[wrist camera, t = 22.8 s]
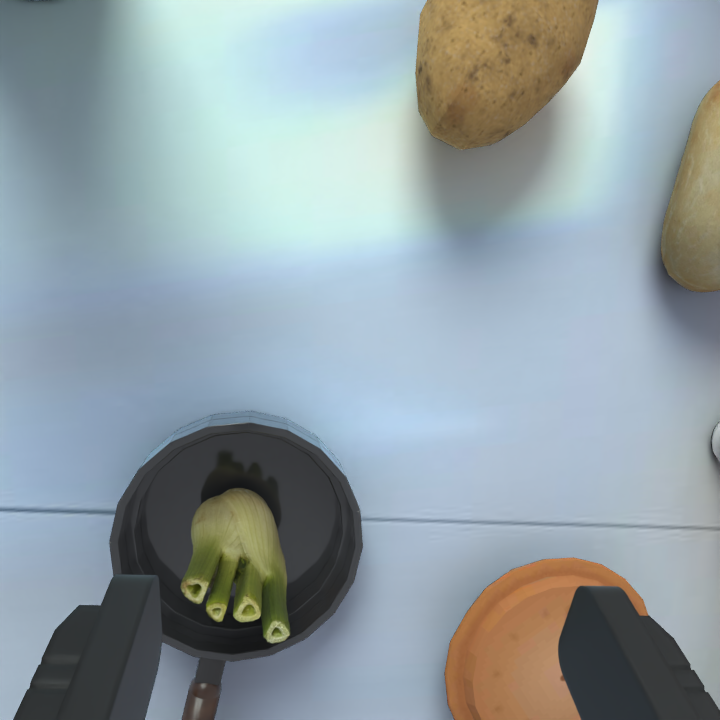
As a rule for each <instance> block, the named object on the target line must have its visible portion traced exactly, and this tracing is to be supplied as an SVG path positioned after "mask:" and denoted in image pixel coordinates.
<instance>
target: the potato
mask: <svg viewBox="0 0 720 720" xmlns="http://www.w3.org/2000/svg"><path fill="white" fill-rule="evenodd" d="M597 5H598V0H427V2H426V4H425V6H424V8H423V10H422V12H421V14H420V23H419V34H418V46H417V59H416V72H415V74H416V86H417V97H418V109H419V113H420V115H421V117H422V118H423V120H424V122H425V124H426V126H427V128H428V129H429V131H430V133H431V135H432V136H433V137H435V138H437V139H439V140H441V141H443V142H445V143H447V144H449V145H451V146H453V147H455V148H457V149H462V150H464V149H470V148H476V147H482V146H488V145H492V144H494V143H496V142H498V141H500V140H502V139H503V138H505V137H506V136H508V135H509V134H511V133H512V132H514V131H515V130H517V129H518V128H520V127H522V126H523V125H525V124H526V123H527V122H528V121H529V120H530V119H531V118H532V117H533V116H534V115H535V114H536V113H537V112H538V111H539V110H541V109H542V108H543V107H544V106H545V105H546V104H547V103H548V102H549V101H550V100H551V99H552V98H553V97H554V96H555V94H556V93H557V92H558V91H559V90H560V89H561V88H562V87H563V86H564V85H565V83H566V82H567V81H568V79H569V78H570V77H571V75H572V74H573V72H574V71H575V70H576V68H577V67H578V66H579V64H580V62H581V59H582V56H583V53H584V50H585V47H586V44H587V40H588V37H589V34H590V31H591V28H592V25H593V22H594V18H595V13H596V9H597Z"/></svg>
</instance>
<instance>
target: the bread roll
mask: <svg viewBox="0 0 720 720" xmlns="http://www.w3.org/2000/svg"><path fill="white" fill-rule="evenodd" d="M661 255H662V260H663V263H664V266H665V268H666V269H667V272H668V274H669V275H670V276H671V277H672V278H673V279H674V280H675V281H676V282H677V283H678V284H680V285H681V286H682V287H684V288H686V289H688V290H690V291H696V292H712V291H718V290H720V80H719V81H718V82H717V83H716V84H715V85H714V86H713V87H712V88H711V89H710V90H709V91H708V93H707V94H706V95H705V97H704V98H703V99H702V101H701V103H700V105H699V107H698V110H697V112H696V114H695V117H694V119H693V122H692V126H691V130H690V134H689V137H688V141H687V144H686V148H685V152H684V155H683V157H682V160H681V165H680V167H679V171H678V174H677V178H676V181H675V185H674V189H673V192H672V195H671V198H670V202H669V205H668V208H667V211H666V214H665V219H664V223H663V230H662V238H661Z"/></svg>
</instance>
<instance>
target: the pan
mask: <svg viewBox="0 0 720 720" xmlns="http://www.w3.org/2000/svg"><path fill="white" fill-rule="evenodd" d="M234 488H244V489H248V490H251V491H253V492H255V493H257V494H258V495H259V496H261V497H262V498H263V499H264V500H265V502H266V503H267V505H268V507H269V509H270V510H271V512H272V514H273V517H274V520H275V523H276V527H277V530H278V536H279V541H280V545H281V549H282V553H283V555H284V559H285V566H286V573H287V587H286V588H287V589H286V606H287V613H288V621H289V625H290V636H289V637H288V638H287V639H286V640H285V641H282V642H280V643H273V644H272V643H269V642H267V640H266V639H265V638H264V637H263V628H262V619H261V616H260V617H259V619H257V620H254V621H249V622H240V621H238V620H236V619H235V618H234V617H233V608H234V598H235V591H236V584H235V583H234V582H233V587H232V590H231V595H230V599H229V602H228V605H227V609H226V612H225V614H224V617H223V620H222V621H221V622H216V621H215V620H213V619H212V618H210V617H209V616H208V614H207V612H206V602H207V600H208V597H209V595H210V589H209V588H208V589H207V592H206V594H205V596H204V599H203V601H202V603H200V604H196V603H193V602H192V601H190V600H189V599H188V598H187V597H185V596H184V594H183V592H182V590H181V588H180V586H181V582H182V579H183V577H184V576H185V574H186V572H187V570H188V567H189V564H190V562H191V559H192V555H193V544H192V539H191V527H192V521H193V517H194V515H195V512H196V510H197V509H198V508H199V507H200V505H201V504H202V503H203V502H205V501H206V500H208V499H210V498H212V497H215V496H219V495H221V494H223V493H224V492H226V491H227V490H229V489H234ZM109 544H110V552H111V560H112V568H113V576H114V575H157V576H158V578H159V587H160V604H161V622H162V642H163V643H166V644H168V645H170V646H172V647H174V648H176V649H178V650H181V651H183V652H185V653H187V654H189V655H191V656H194V657H201V658H208V659H216V660H223V661H231V662H232V661H233V662H234V661H240V660H246V659H252V658H259V657H265V656H270V655H273V654H275V653H277V652H279V651H281V650H284V649H286V648H288V647H290V646H292V645H294V644H296V643H298V642H300V641H303V640H305V638H307V637H308V636H310V635H311V634H312V633H313V632H314V631H315V630H316V629H318V628H319V627H320V626H321V625H322V624H323V623H324V622H325V621H327V620H328V619H329V618H330V617H331V616H332V615H333V614H334V613H335V612H336V610H337V608H338V607H339V605H340V603H341V602H342V600H343V599H344V597H345V595H346V594H347V592H348V590H349V589H350V587H351V586H352V584H353V582H354V579H355V575H356V571H357V567H358V563H359V559H360V556H361V552H362V548H363V547H362V546H363V542H362V528H361V514H360V508H359V506H358V504H357V501H356V499H355V497H354V494H353V492H352V489H351V487H350V485H349V482H348V480H347V478H346V475H345V473H344V471H343V469H342V467H341V464H340V462H339V461H338V459H337V458H336V457H335V456H334V455H333V454H332V453H331V452H330V450H329V449H328V448H327V447H326V446H325V445H324V444H323V443H322V442H321V440H320V439H319V438H318V437H317V436H316V435H314V434H313V433H311V432H309V431H307V430H306V429H304V428H302V427H300V426H299V425H297V424H295V423H293V422H292V421H290V420H288V419H285V418H283V417H278V416H273V415H268V414H264V413H259V412H254V411H243V412H233V413H223V414H214V415H210V416H208V417H206V418H203V419H201V420H199V421H196V422H194V423H192V424H189V425H187V426H184V427H182V428H180V429H179V430H177V431H176V432H174V433H173V434H172V435H171V436H170V437H168V438H167V439H166V440H165V441H164V442H163V443H161V444H160V445H159V446H158V447H157V448H156V449H154V450H153V451H152V452H151V453H150V454H149V455H148V457H147V458H146V460H145V461H144V462H143V464H142V465H141V467H140V468H139V470H138V471H137V473H136V474H135V476H134V478H133V479H132V481H131V483H130V484H129V486H128V487H127V489H126V491H125V492H124V494H123V496H122V497H121V499H120V501H119V502H118V504H117V509H116V513H115V518H114V523H113V527H112V532H111V536H110V542H109Z"/></svg>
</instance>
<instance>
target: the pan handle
mask: <svg viewBox="0 0 720 720" xmlns="http://www.w3.org/2000/svg"><path fill="white" fill-rule="evenodd" d="M225 662H226V661H223V660H216V659H208V658H201V657H199V661H198V665H197V670H196V675H195V677H194V678H193V680H192V681H191V684H190V687H189V691H188V695H187V699H186V704H185V708H184V712H183V716H182V720H214V719H215V714H216V710H217V706H218V702H219V698H220V694H221V679H222V674H223V670H224V666H225Z"/></svg>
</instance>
